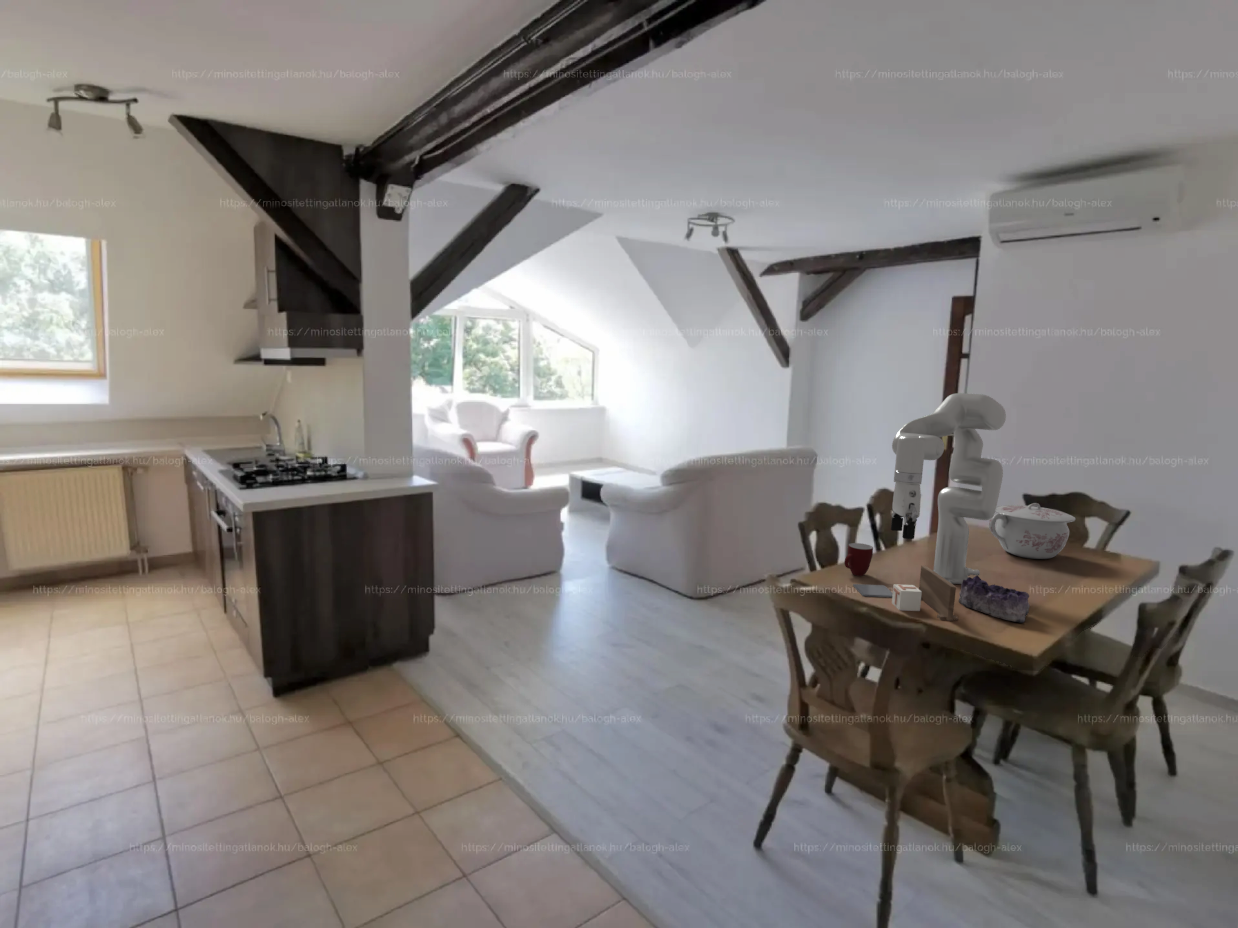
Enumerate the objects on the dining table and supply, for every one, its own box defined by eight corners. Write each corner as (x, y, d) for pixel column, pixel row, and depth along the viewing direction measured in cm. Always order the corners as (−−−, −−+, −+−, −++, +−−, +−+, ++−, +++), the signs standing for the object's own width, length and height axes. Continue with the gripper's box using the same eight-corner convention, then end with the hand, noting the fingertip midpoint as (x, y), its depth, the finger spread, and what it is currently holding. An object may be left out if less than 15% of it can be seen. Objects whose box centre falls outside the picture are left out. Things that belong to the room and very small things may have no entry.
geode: (947, 605, 203) (952, 573, 203) (965, 603, 210) (970, 572, 210) (1019, 625, 187) (1024, 589, 187) (1037, 622, 194) (1041, 588, 194)
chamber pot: (1069, 553, 268) (1076, 502, 265) (1071, 569, 245) (1078, 514, 242) (989, 541, 283) (995, 493, 280) (984, 555, 260) (990, 503, 257)
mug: (856, 580, 224) (859, 551, 222) (836, 574, 230) (838, 545, 229) (875, 575, 230) (878, 547, 229) (855, 569, 237) (857, 541, 235)
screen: (928, 596, 210) (931, 565, 209) (958, 620, 190) (962, 587, 189) (912, 596, 210) (915, 565, 209) (940, 620, 190) (944, 586, 189)
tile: (884, 586, 218) (884, 585, 218) (895, 597, 208) (895, 595, 208) (853, 585, 219) (853, 583, 218) (863, 596, 209) (863, 594, 209)
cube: (911, 603, 203) (913, 584, 202) (919, 611, 197) (921, 590, 196) (891, 603, 204) (892, 583, 203) (898, 610, 198) (900, 590, 197)
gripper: (932, 483, 189) (926, 542, 191) (909, 473, 206) (904, 528, 208) (905, 482, 189) (899, 541, 192) (885, 472, 206) (879, 527, 209)
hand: (902, 534), depth 200 cm, fingers open, 9 cm apart
